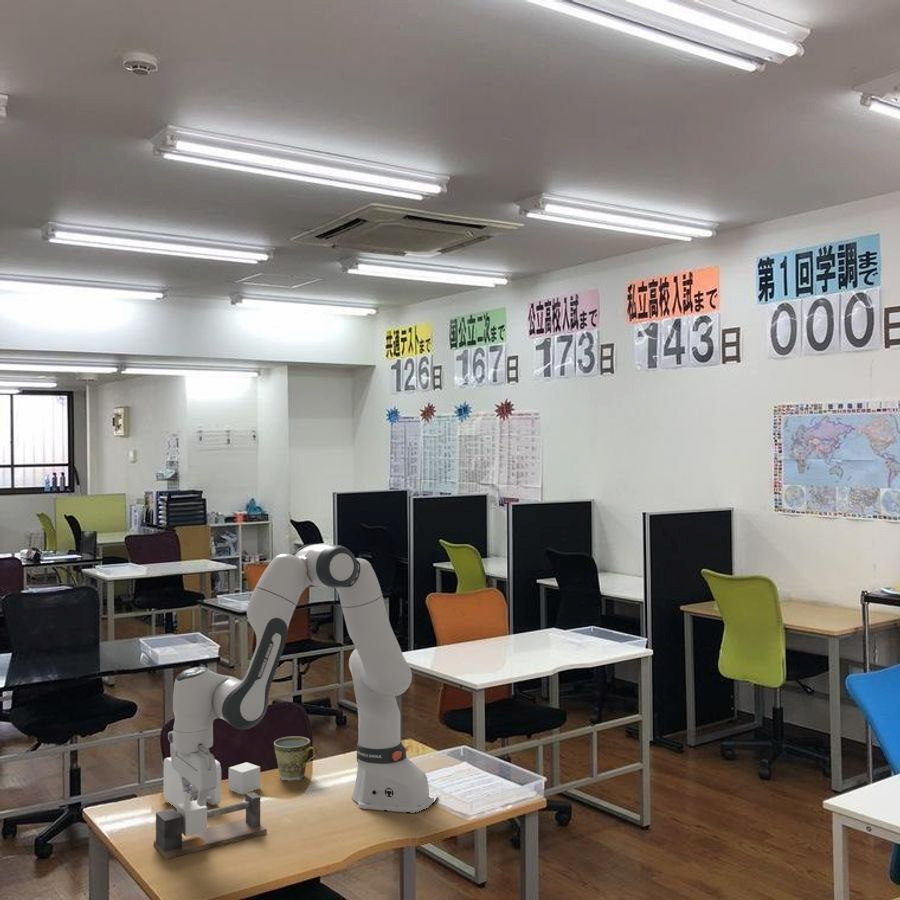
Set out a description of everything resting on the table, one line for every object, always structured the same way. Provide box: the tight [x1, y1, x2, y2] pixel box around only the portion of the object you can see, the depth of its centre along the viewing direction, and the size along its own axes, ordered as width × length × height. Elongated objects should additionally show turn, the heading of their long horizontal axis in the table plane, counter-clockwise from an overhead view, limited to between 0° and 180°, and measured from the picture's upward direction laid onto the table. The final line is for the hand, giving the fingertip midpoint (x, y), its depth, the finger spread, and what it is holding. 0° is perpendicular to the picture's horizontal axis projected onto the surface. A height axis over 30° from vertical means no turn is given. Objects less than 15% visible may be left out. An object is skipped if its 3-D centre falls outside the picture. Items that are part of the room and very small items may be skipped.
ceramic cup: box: [273, 736, 318, 781], centre depth 256 cm, size 13×10×10 cm
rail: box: [153, 791, 268, 859], centre depth 215 cm, size 24×9×8 cm, turn 126°
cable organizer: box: [163, 756, 222, 809], centre depth 238 cm, size 15×11×12 cm
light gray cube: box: [228, 761, 261, 795], centre depth 248 cm, size 6×6×6 cm
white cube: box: [176, 799, 208, 837], centre depth 212 cm, size 5×6×6 cm
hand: (194, 798), depth 213 cm, fingers open, 8 cm apart
